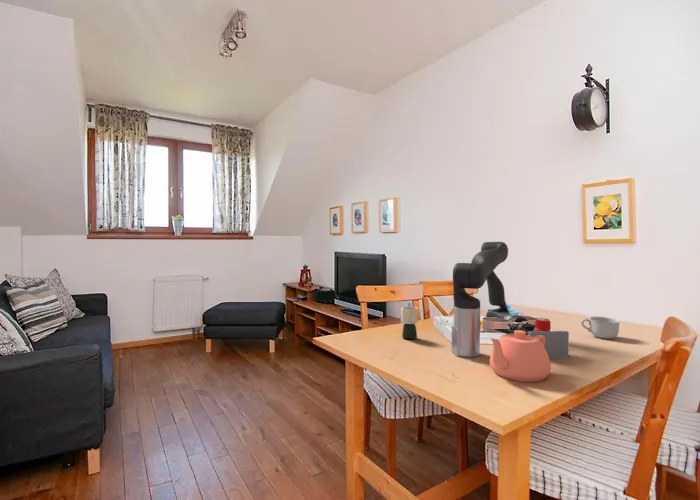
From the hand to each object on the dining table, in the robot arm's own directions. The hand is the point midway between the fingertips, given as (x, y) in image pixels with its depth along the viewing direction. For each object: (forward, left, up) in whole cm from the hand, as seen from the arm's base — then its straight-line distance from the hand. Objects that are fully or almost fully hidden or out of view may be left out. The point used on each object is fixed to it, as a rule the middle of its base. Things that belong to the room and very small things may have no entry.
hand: (537, 332), depth 145 cm
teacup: (+37, +15, -6) cm, 41 cm away
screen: (-2, -11, -6) cm, 12 cm away
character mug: (-46, +17, -6) cm, 50 cm away
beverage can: (0, -4, -6) cm, 7 cm away
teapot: (-22, -27, -6) cm, 35 cm away
